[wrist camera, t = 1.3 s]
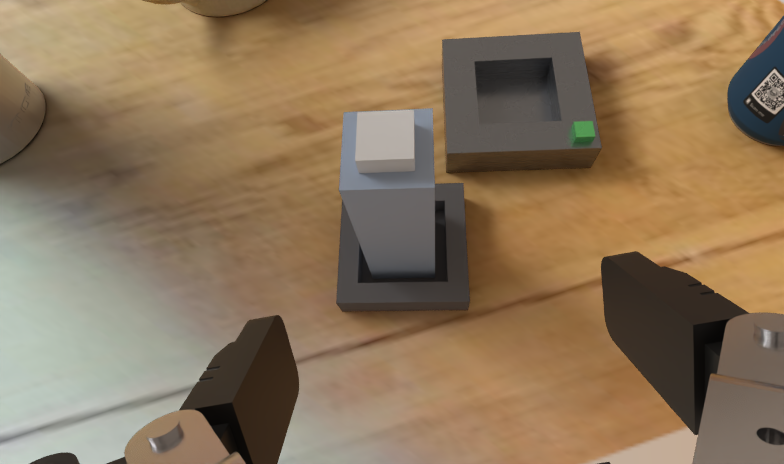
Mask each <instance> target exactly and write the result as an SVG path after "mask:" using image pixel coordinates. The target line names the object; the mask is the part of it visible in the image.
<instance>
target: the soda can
mask: <svg viewBox="0 0 784 464" xmlns="http://www.w3.org/2000/svg"><path fill="white" fill-rule="evenodd" d="M728 110H729V114H730V117H731V119H732V121H733V123H734V124H735V125H736V127H737V128H738V129H739V130H740V131H741V132H743V133H744V134H745V135H747V136H748V137H750V138H752V139H754V140H756V141H758V142H761V143H764V144H768V145H773V146H784V16H783V17H782V18H781V20H780V21H779V22H778V23H777V24H776V26H775V27H774V28H773V29H772V30H771V32H770V33H769V34H768V35H767V37H766V38H765V39H764V40H763V41H762V43H761V44H760V45H759V46H758V47H757V49H756V50H755V51H754V52H753V53H752V55H751V56H750V57H749V58H748V60H747V61H746V62H745V63H744V64H743V66H742V67H741V68H740V69H739V70H738V72H737V73H736V74H735V75H734V77H733V78H732V80H731V82H730V84H729V88H728Z"/></svg>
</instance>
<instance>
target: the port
mask: <svg viewBox="0 0 784 464" xmlns="http://www.w3.org/2000/svg"><path fill="white" fill-rule="evenodd" d="M442 76H443V102H444V127H445V152H446V173H449V172H479V171H509V170H539V169H569V168H591V166H592V164H593V162H594V161H595V159H596V157H597V155H598V154H599V152H600V150H601V148H602V146H601V141H600V136H599V131H598V126H597V120H596V115H595V110H594V105H593V99H592V94H591V89H590V84H589V79H588V73H587V68H586V63H585V58H584V52H583V47H582V42H581V37H580V32H571V33H553V34H535V35H517V36H498V37H480V38H462V39H444V40H442Z"/></svg>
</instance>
